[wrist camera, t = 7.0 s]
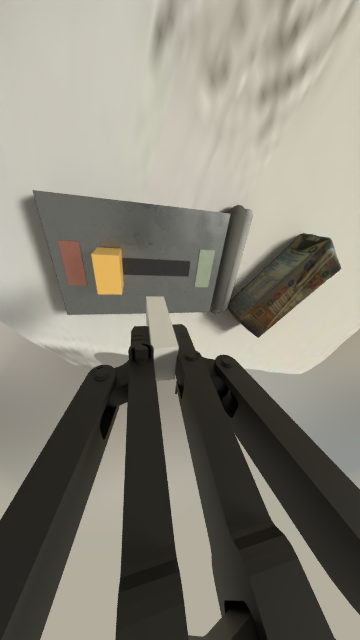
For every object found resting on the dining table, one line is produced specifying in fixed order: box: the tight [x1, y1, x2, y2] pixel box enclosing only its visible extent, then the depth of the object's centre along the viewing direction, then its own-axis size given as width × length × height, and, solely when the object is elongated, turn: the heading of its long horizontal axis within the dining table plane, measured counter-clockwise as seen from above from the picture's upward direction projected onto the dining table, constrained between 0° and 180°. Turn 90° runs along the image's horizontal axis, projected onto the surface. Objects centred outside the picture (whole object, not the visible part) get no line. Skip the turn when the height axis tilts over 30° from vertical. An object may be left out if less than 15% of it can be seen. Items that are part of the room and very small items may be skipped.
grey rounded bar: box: [210, 205, 253, 313], centre depth 31 cm, size 18×4×2 cm, turn 175°
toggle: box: [91, 247, 124, 295], centre depth 23 cm, size 5×3×4 cm, turn 175°
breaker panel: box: [33, 190, 230, 315], centre depth 28 cm, size 16×24×3 cm, turn 84°
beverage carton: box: [228, 233, 341, 338], centre depth 34 cm, size 8×19×7 cm, turn 136°
